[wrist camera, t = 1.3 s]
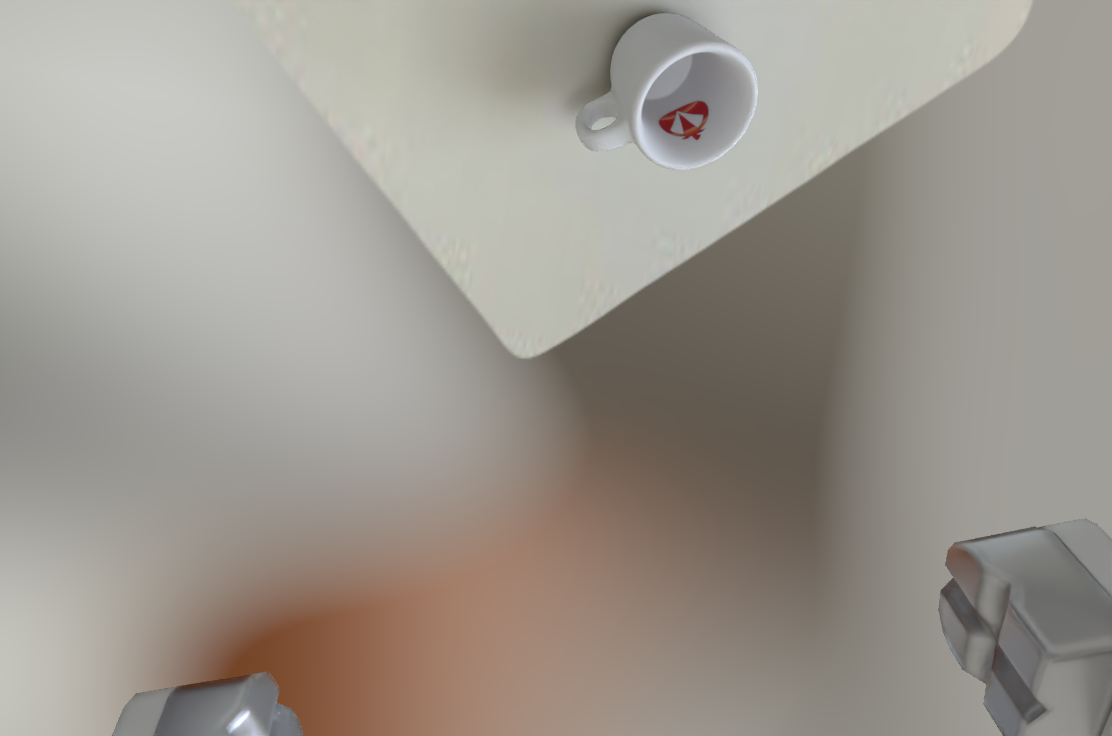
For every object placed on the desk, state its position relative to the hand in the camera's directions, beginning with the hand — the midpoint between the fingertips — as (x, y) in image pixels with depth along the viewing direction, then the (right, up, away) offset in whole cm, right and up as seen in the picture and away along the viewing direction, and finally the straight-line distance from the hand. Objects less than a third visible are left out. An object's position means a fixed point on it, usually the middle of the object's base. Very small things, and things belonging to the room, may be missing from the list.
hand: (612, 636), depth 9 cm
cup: (+4, +23, +43) cm, 49 cm away
